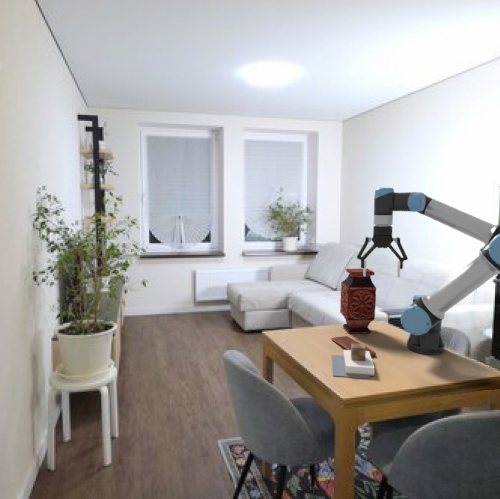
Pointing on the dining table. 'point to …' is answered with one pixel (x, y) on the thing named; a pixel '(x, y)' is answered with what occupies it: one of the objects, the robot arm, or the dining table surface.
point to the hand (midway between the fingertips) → (381, 276)
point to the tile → (358, 364)
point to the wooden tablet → (349, 343)
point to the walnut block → (358, 352)
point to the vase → (358, 301)
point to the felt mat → (342, 368)
